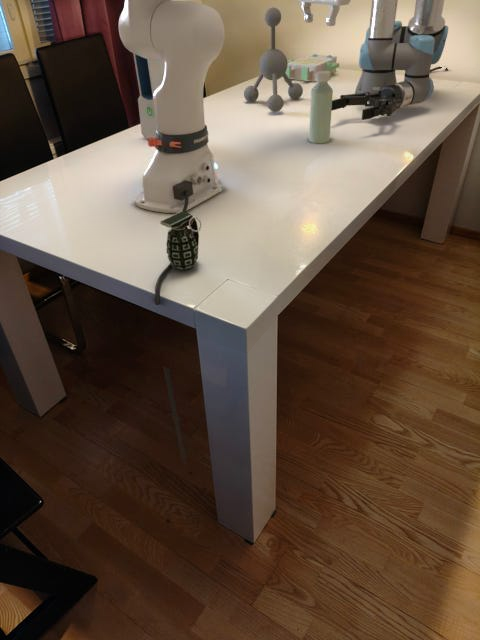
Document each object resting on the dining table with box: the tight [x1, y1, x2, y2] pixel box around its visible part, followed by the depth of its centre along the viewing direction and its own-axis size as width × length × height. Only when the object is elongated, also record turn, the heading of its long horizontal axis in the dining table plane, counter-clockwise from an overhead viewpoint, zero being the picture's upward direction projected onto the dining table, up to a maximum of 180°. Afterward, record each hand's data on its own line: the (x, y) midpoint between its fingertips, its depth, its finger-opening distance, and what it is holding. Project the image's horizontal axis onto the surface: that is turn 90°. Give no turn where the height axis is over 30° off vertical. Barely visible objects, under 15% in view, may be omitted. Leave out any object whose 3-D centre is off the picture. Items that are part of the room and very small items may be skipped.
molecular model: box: [243, 6, 304, 113], centre depth 169 cm, size 24×22×30 cm
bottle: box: [308, 81, 334, 144], centre depth 139 cm, size 6×6×18 cm
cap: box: [314, 71, 331, 82], centre depth 134 cm, size 4×4×2 cm
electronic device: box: [132, 53, 165, 140], centre depth 143 cm, size 12×8×30 cm, turn 47°
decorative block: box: [285, 53, 340, 82], centre depth 209 cm, size 26×6×20 cm
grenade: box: [159, 211, 202, 271], centre depth 88 cm, size 7×6×10 cm
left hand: (319, 23), depth 126 cm, fingers open, 8 cm apart
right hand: (345, 110), depth 144 cm, fingers open, 13 cm apart
